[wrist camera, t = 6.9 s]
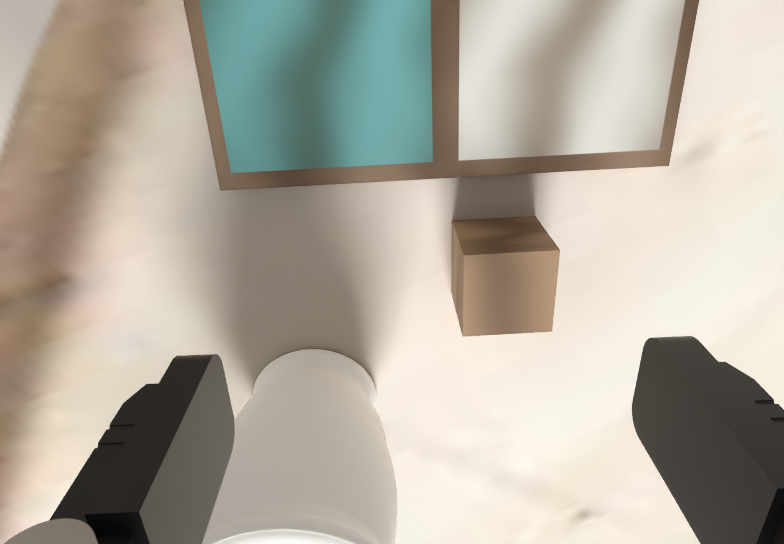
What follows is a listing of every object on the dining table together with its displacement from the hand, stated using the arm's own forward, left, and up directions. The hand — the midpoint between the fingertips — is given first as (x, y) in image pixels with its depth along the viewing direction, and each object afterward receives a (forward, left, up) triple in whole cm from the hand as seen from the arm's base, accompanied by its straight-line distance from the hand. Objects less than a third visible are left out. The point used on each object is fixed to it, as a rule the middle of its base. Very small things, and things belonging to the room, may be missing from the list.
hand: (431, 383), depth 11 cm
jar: (+6, +18, -23) cm, 30 cm away
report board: (-3, -4, -22) cm, 23 cm away
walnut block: (-6, +8, -22) cm, 25 cm away
